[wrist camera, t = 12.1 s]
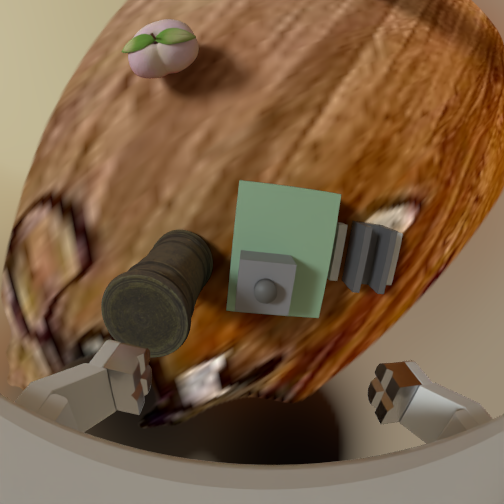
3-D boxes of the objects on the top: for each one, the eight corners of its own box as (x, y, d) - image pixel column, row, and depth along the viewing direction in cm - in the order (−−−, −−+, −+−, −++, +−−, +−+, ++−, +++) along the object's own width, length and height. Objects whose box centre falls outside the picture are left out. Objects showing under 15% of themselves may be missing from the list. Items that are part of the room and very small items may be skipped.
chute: (341, 279, 42) (352, 292, 37) (352, 220, 39) (366, 226, 35) (370, 281, 42) (383, 294, 37) (381, 225, 40) (397, 231, 35)
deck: (240, 180, 38) (238, 180, 27) (400, 205, 39) (444, 216, 28) (228, 292, 41) (223, 331, 31) (379, 303, 43) (412, 337, 32)
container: (174, 217, 39) (121, 247, 21) (226, 254, 40) (212, 312, 23) (142, 266, 40) (83, 322, 23) (191, 301, 42) (161, 377, 24)
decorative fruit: (198, 32, 32) (187, -3, 22) (207, 76, 34) (196, 46, 24) (138, 49, 32) (112, 21, 22) (144, 94, 34) (115, 72, 24)
